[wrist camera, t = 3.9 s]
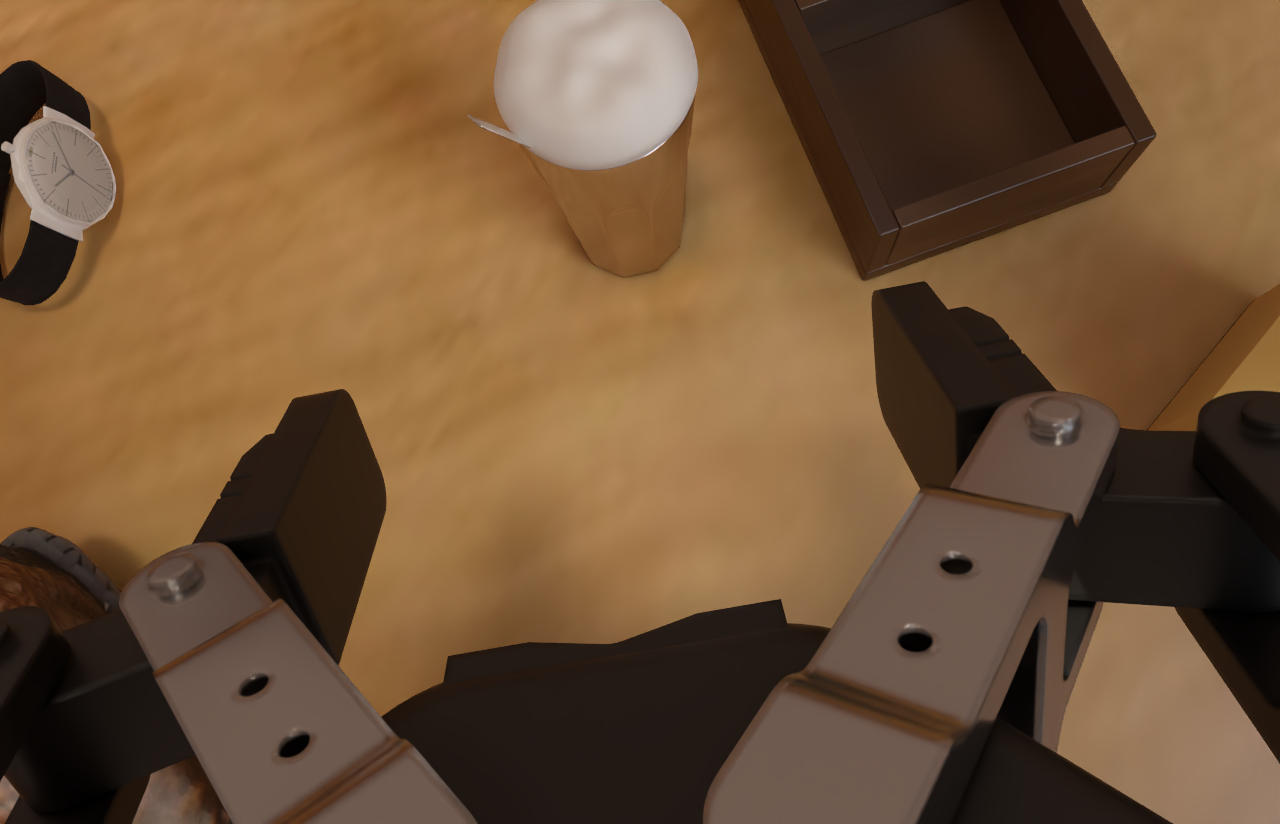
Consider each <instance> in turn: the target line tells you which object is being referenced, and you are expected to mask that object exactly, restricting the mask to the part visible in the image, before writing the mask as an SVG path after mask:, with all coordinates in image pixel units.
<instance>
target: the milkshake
mask: <svg viewBox="0 0 1280 824" xmlns="http://www.w3.org/2000/svg"><path fill="white" fill-rule="evenodd" d="M697 83H698V66H697V60H696V55H695V51H694V47H693V43H692V40H691V37H690V35H689V32H688V30H687V28H686V26H685V25H684V23H683V22H682V20H681V19H680V18H679V17H678V16H677V15H676V14H675V13H674V12H673V11H672V10H671V9H670V8H668V7H667V6H666V5H665V4H663V3H662V2H661V1H659V0H537V1H536V2H535V3H533V4H532V5H530V6H529V7H527V8H526V9H525V10H523V11H522V12H521V13H520V14H519V15H518V16H517V17H516V18H515V19H514V20H513V21H512V22H511V24H510V25H509V27H508V29H507V30H506V32H505V34H504V36H503V39H502V42H501V45H500V48H499V52H498V57H497V63H496V68H495V74H494V95H495V100H496V104H497V107H498V110H499V112H500V115H501V117H502V119H503V121H504V122H505V124H506V126H507V127H508V129H509V130H510V131H511V132H509V131H507V130H504V129H502V128H500V127H498V126H495V125H493V124H491V123H488V122H486V121H484V120H481V119H479V118H477V117H474V116H472V115H470V114H467V116H468V117H469V118H470V119H471V120H472V121H473V122H474V123H476V124H477V125H478V126H479V127H481V128H483V129H485V130H487V131H490V132H492V133H495V134H497V135H499V136H502V137H504V138H507V139H509V140H511V141H514V142H516V143H518V144H519V145H520V147H521V148H522V150H523V151H524V153H525V154H526V156H527V157H528V159H529V160H530V162H531V164H532V165H533V167H534V168H535V170H536V171H537V173H538V174H539V176H540V177H541V178H542V180H543V181H544V183H545V184H546V185H547V187H548V188H549V190H550V191H551V193H552V194H553V196H554V197H555V199H556V200H557V202H558V204H559V205H560V207H561V209H562V210H563V212H564V214H565V216H566V217H567V219H568V221H569V223H570V224H571V226H572V228H573V230H574V232H575V233H576V235H577V237H578V239H579V240H580V242H581V244H582V246H583V248H584V249H585V251H586V253H587V255H588V257H589V258H590V260H591V262H592V263H593V264H594V265H596V266H598V267H601V268H603V269H605V270H608V271H610V272H612V273H615V274H617V275H619V276H621V277H628V276H632V275H638V274H643V273H648V272H653V271H657V270H658V269H659V268H660V267H661V266H662V265H663V264H664V263H665V262H666V261H667V260H668V259H669V258H670V257H671V256H672V255H673V254H674V253H675V252H676V251H677V250H678V249H679V248H680V244H681V237H682V230H683V223H684V216H685V202H686V183H687V164H688V148H689V143H690V137H691V129H692V121H693V112H694V103H695V95H696V89H697Z"/></svg>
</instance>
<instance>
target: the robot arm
mask: <svg viewBox="0 0 1280 824" xmlns="http://www.w3.org/2000/svg"><path fill="white" fill-rule="evenodd" d="M872 321H873V337H874V354H875V370H876V384H877V393H878V398H879V403H880V407H881V411H882V414H883V418H884V420H885V423H886V425H887V427H888V429H889V430H890V432H891V434H892V436H893V438H894V440H895V442H896V444H897V446H898V448H899V449H900V451H901V453H902V455H903V457H904V459H905V461H906V463H907V465H908V466H909V468H910V470H911V472H912V474H913V476H914V478H915V480H916V482H917V484H918V485H919V487H920V489H921V490H920V491H919V492H918V494H917V495H916V497H915V498H914V500H913V502H912V503H911V505H910V506H909V508H908V509H907V511H906V512H905V514H904V516H903V517H902V519H901V520H900V522H899V523H898V525H897V527H896V528H895V530H894V531H893V533H892V534H891V536H890V538H889V539H888V541H887V542H886V544H885V545H884V547H883V549H882V550H881V552H880V553H879V555H878V556H877V558H876V559H875V561H874V563H873V564H872V566H871V567H870V569H869V570H868V572H867V574H866V575H865V577H864V578H863V580H862V581H861V583H860V585H859V586H858V588H857V589H856V591H855V592H854V594H853V595H852V597H851V599H850V600H849V602H848V603H847V605H846V606H845V608H844V610H843V611H842V613H841V614H840V616H839V617H838V619H837V621H836V622H835V624H834V625H833V627H832V628H831V629H830V628H826V627H821V626H814V625H806V624H791V623H787V621H786V617H785V613H784V610H783V606H782V602H781V599H778V600H772V601H767V602H761V603H755V604H749V605H743V606H737V607H732V608H726V609H720V610H714V611H708V612H702V613H697V614H695V615H692V616H689V617H686V618H684V619H681V620H678V621H676V622H673V623H670V624H667V625H665V626H662V627H659V628H657V629H654V630H651V631H649V632H646V633H643V634H640V635H638V636H635V637H632V638H630V639H627V640H624V641H621V642H618V643H613V644H575V643H536V642H527V643H522V644H516V645H510V646H504V647H498V648H492V649H487V650H481V651H475V652H469V653H463V654H457V655H452V656H448V659H447V664H446V670H445V676H444V682H443V683H441V684H438V685H436V686H433V687H431V688H429V689H427V690H425V691H423V692H421V693H419V694H416V695H415V696H413V697H411V698H409V699H408V700H406V701H404V702H403V703H401V704H399V705H398V706H396V707H395V708H393V709H392V710H390V711H389V712H388V713H386V714H385V715H383V716H382V717H380V715H379V714H378V713H377V712H376V711H375V709H374V708H373V707H372V706H371V705H370V703H369V702H368V701H367V700H366V699H365V697H364V696H363V695H362V694H361V693H360V691H359V690H358V689H357V688H356V687H355V685H354V684H353V683H352V682H351V681H350V679H349V678H348V677H347V676H346V675H345V673H344V672H343V671H342V670H341V669H340V667H339V666H338V665H339V662H340V659H341V656H342V653H343V649H344V646H345V643H346V640H347V636H348V633H349V630H350V626H351V623H352V620H353V617H354V613H355V610H356V607H357V604H358V600H359V597H360V594H361V590H362V587H363V584H364V581H365V577H366V574H367V571H368V567H369V564H370V561H371V558H372V554H373V551H374V548H375V545H376V541H377V538H378V535H379V531H380V528H381V525H382V522H383V518H384V515H385V511H386V489H385V483H384V479H383V475H382V472H381V470H380V467H379V465H378V462H377V459H376V457H375V454H374V452H373V449H372V447H371V444H370V442H369V439H368V437H367V434H366V431H365V429H364V426H363V424H362V421H361V419H360V416H359V414H358V411H357V409H356V406H355V404H354V401H353V399H352V398H351V396H350V395H349V393H348V392H347V391H345V390H343V389H340V390H335V391H329V392H324V393H319V394H313V395H308V396H303V397H297V398H294V399H293V400H292V401H291V403H290V405H289V407H288V409H287V410H286V412H285V414H284V416H283V418H282V420H281V422H280V423H279V425H278V427H277V429H276V431H275V433H274V434H269V435H266V436H264V437H263V438H262V439H261V440H260V441H259V442H258V443H257V444H255V445H254V446H253V447H252V448H251V449H250V450H249V451H248V452H246V453H245V454H244V455H243V456H242V458H241V459H240V461H239V463H238V465H237V466H236V468H235V470H234V472H233V473H232V475H231V477H230V478H231V481H228V482H227V484H226V486H225V487H224V489H223V491H222V493H221V494H220V495H221V499H218V500H217V501H216V503H215V505H214V507H213V508H212V510H211V512H210V514H209V515H208V517H207V519H206V520H205V522H204V524H203V526H202V527H201V529H200V531H199V533H198V534H197V536H196V538H195V540H194V541H193V543H192V544H190V545H187V546H184V547H180V548H178V549H175V550H173V551H170V552H168V553H166V554H164V555H162V556H160V557H158V558H157V559H155V560H153V561H152V562H150V563H149V564H147V565H146V566H144V567H143V568H142V569H141V570H139V571H138V572H137V573H136V574H135V575H134V576H133V577H132V578H131V579H130V580H129V581H128V582H127V584H126V585H125V586H124V588H123V590H122V592H121V594H120V597H119V606H120V609H119V610H117V611H115V612H112V613H109V614H107V615H104V616H101V617H99V618H96V619H93V620H91V621H88V622H86V623H83V624H80V625H78V626H75V627H72V628H70V629H67V630H64V631H62V632H61V630H60V629H59V628H58V626H57V625H56V623H55V622H54V620H53V619H52V617H51V616H50V614H49V613H48V612H47V611H46V610H45V609H43V608H40V607H36V606H23V607H17V608H13V609H9V610H5V611H2V612H0V781H1V780H2V778H3V776H5V777H6V779H7V780H8V781H9V782H10V784H11V785H12V786H13V787H14V789H15V790H16V791H17V792H18V794H19V795H20V796H19V798H18V799H17V801H16V803H15V805H14V807H13V809H12V810H11V812H10V814H9V816H8V818H7V820H6V822H5V823H4V824H132V822H133V820H134V818H135V815H136V813H137V810H138V808H139V805H140V803H141V800H142V798H143V795H144V793H145V791H146V788H147V786H148V783H149V780H150V776H151V774H152V773H154V772H157V771H159V770H161V769H164V768H166V767H169V766H171V765H173V764H176V763H178V762H180V761H183V760H185V759H187V758H190V757H192V756H195V755H196V756H197V758H198V760H199V761H200V763H201V765H202V767H203V769H204V771H205V773H206V775H207V776H208V778H209V780H210V782H211V784H212V786H213V788H214V789H215V791H216V793H217V795H218V797H219V799H220V801H221V802H222V804H223V806H224V808H225V810H226V812H227V814H228V815H229V817H230V819H231V821H232V823H233V824H1173V823H1171V822H1169V821H1168V820H1166V819H1164V818H1163V817H1161V816H1159V815H1158V814H1156V813H1154V812H1153V811H1151V810H1150V809H1148V808H1146V807H1145V806H1143V805H1141V804H1140V803H1138V802H1136V801H1135V800H1133V799H1131V798H1130V797H1128V796H1126V795H1125V794H1123V793H1121V792H1120V791H1118V790H1117V789H1115V788H1113V787H1112V786H1110V785H1108V784H1107V783H1105V782H1103V781H1102V780H1100V779H1098V778H1097V777H1095V776H1093V775H1092V774H1090V773H1089V772H1087V771H1085V770H1084V769H1082V768H1080V767H1079V766H1077V765H1075V764H1074V763H1072V762H1070V761H1069V760H1067V759H1065V758H1064V757H1062V756H1061V755H1059V754H1057V753H1056V752H1057V747H1058V742H1059V736H1060V731H1061V726H1062V721H1063V717H1064V714H1065V710H1066V707H1067V704H1068V701H1069V699H1070V696H1071V693H1072V690H1073V688H1074V685H1075V682H1076V679H1077V677H1078V674H1079V671H1080V668H1081V665H1082V663H1083V660H1084V657H1085V654H1086V652H1087V649H1088V646H1089V643H1090V641H1091V638H1092V635H1093V632H1094V630H1095V627H1096V624H1097V621H1098V619H1099V616H1100V613H1101V610H1102V607H1103V602H1111V603H1126V604H1141V605H1157V606H1172V607H1175V609H1176V611H1177V613H1178V614H1179V616H1180V617H1181V619H1182V620H1183V622H1184V623H1185V625H1186V626H1187V628H1188V629H1189V631H1190V632H1191V633H1192V635H1193V636H1194V638H1195V639H1196V641H1197V642H1198V644H1199V645H1200V647H1201V648H1202V650H1203V651H1204V653H1205V654H1206V656H1207V657H1208V658H1209V660H1210V661H1211V663H1212V664H1213V666H1214V667H1215V669H1216V670H1217V672H1218V673H1219V675H1220V676H1221V678H1222V679H1223V681H1224V682H1225V683H1226V685H1227V686H1228V688H1229V689H1230V691H1231V692H1232V694H1233V695H1234V697H1235V698H1236V700H1237V701H1238V703H1239V704H1240V706H1241V707H1242V708H1243V710H1244V711H1245V713H1246V714H1247V716H1248V717H1249V719H1250V720H1251V722H1252V723H1253V725H1254V726H1255V728H1256V729H1257V731H1258V732H1259V733H1260V735H1261V736H1262V738H1263V739H1264V741H1265V742H1266V744H1267V745H1268V747H1269V748H1270V750H1271V751H1272V753H1273V754H1274V756H1275V757H1276V758H1277V760H1278V761H1279V763H1280V392H1274V391H1241V392H1234V393H1229V394H1225V395H1222V396H1218V397H1216V398H1214V399H1212V400H1210V401H1209V402H1207V403H1206V404H1204V406H1203V407H1202V408H1201V409H1200V412H1199V414H1198V421H1197V428H1196V431H1147V430H1132V429H1124V428H1119V427H1120V425H1119V419H1118V417H1117V415H1116V414H1115V413H1114V412H1113V410H1112V409H1111V408H1109V407H1108V406H1107V405H1105V404H1103V403H1102V402H1100V401H1098V400H1096V399H1093V398H1091V397H1088V396H1084V395H1081V394H1076V393H1070V392H1061V391H1057V390H1056V389H1055V388H1054V387H1053V386H1052V385H1051V383H1050V382H1049V381H1048V380H1047V379H1046V378H1045V377H1044V375H1043V374H1042V373H1041V372H1040V371H1039V370H1038V369H1037V367H1036V366H1035V365H1034V364H1033V363H1032V362H1031V361H1030V360H1029V358H1028V357H1027V356H1026V355H1025V354H1022V353H1021V349H1020V348H1019V347H1018V346H1017V345H1016V344H1015V342H1014V341H1013V340H1012V339H1011V340H1009V336H1008V334H1007V333H1006V332H1005V331H1004V330H1003V329H1002V328H1001V326H1000V325H999V324H998V323H997V322H996V321H995V320H994V319H993V318H991V317H989V316H986V315H984V314H982V313H980V312H978V311H975V310H973V309H971V308H969V307H960V308H955V309H950V310H948V309H947V308H946V307H945V305H944V304H943V303H942V302H941V300H940V299H939V298H938V297H937V295H936V294H935V293H934V292H933V290H932V289H931V288H930V286H929V285H928V284H927V283H926V282H918V283H913V284H907V285H902V286H897V287H891V288H886V289H881V290H875V291H874V292H873V295H872Z"/></svg>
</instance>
